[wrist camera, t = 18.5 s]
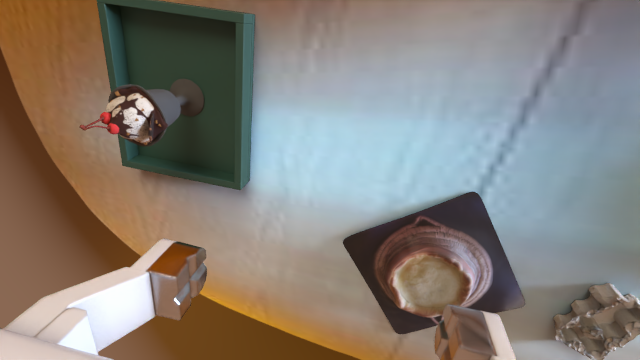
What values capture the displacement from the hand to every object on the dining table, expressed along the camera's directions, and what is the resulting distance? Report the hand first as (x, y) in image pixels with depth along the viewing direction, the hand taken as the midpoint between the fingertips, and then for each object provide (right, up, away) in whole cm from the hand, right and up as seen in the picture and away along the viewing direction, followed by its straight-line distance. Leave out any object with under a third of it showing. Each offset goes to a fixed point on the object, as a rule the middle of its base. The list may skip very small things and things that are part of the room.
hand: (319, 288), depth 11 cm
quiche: (+17, -10, +39) cm, 43 cm away
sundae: (-18, +15, +33) cm, 40 cm away
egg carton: (+39, -15, +37) cm, 56 cm away
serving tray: (-18, +15, +34) cm, 41 cm away
